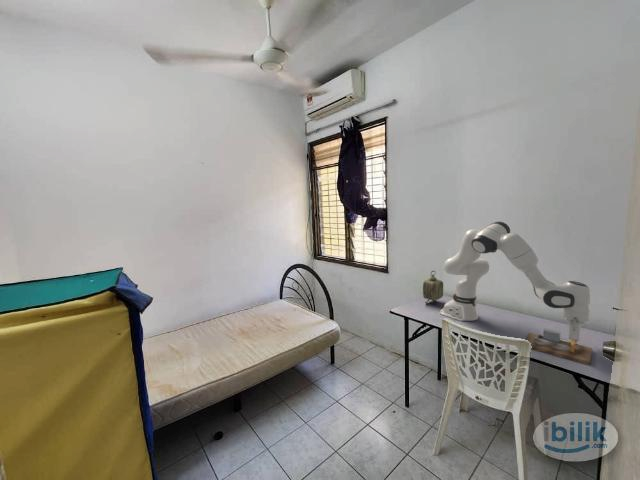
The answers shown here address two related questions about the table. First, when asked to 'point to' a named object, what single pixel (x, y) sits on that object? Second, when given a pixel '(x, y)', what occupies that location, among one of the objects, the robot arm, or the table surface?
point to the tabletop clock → (432, 289)
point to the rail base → (560, 348)
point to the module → (551, 336)
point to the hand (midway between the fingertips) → (574, 341)
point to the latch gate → (572, 346)
